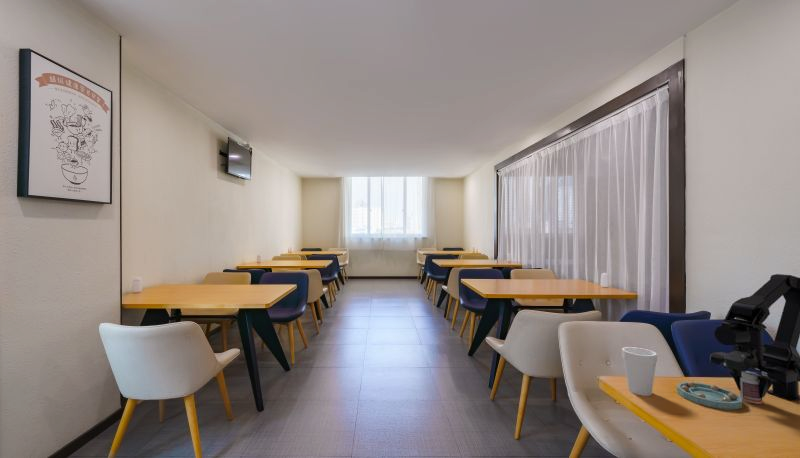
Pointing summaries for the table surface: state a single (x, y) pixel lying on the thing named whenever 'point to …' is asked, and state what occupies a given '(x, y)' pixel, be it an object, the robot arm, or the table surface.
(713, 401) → the tray
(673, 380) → the table surface
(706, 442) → the table surface
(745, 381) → the pill bottle
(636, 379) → the foam cup
